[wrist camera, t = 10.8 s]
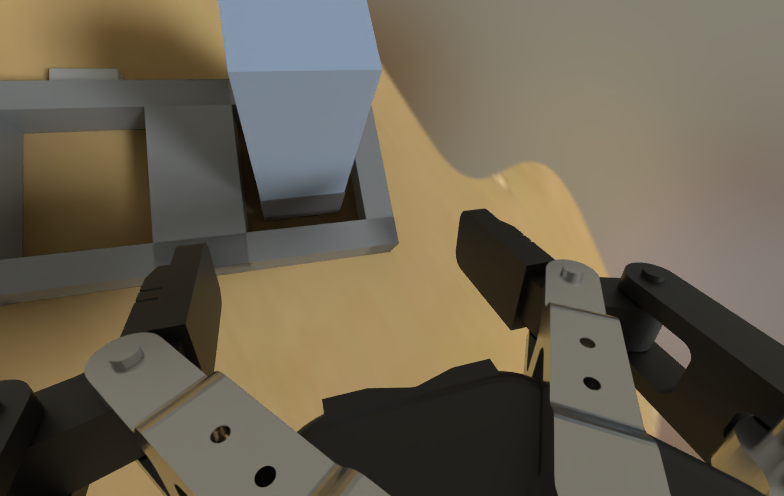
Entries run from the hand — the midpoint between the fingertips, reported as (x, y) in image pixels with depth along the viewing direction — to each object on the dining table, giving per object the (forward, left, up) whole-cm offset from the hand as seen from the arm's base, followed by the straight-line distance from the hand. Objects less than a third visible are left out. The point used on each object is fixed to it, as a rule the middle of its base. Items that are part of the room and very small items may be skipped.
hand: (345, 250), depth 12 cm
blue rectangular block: (-7, -1, -9) cm, 11 cm away
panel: (-7, -6, -9) cm, 12 cm away
